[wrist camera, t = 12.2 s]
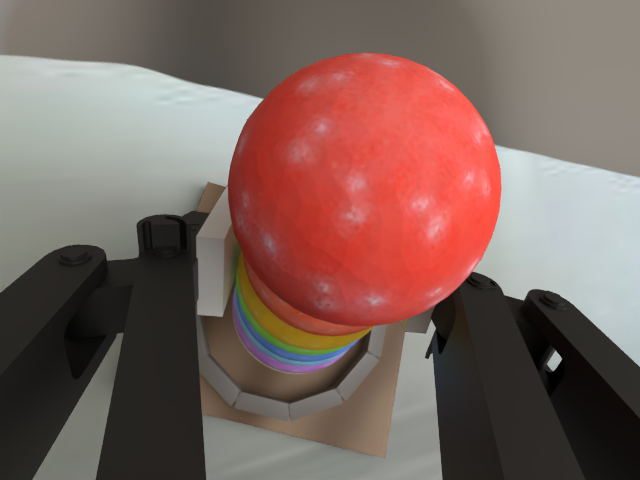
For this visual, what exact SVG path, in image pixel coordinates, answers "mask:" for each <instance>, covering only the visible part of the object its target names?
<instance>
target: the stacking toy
mask: <svg viewBox="0 0 640 480" xmlns="http://www.w3.org/2000/svg"><path fill="white" fill-rule="evenodd" d="M500 198H501V172H500V165H499V161H498V157H497V154H496V150H495V146H494V143H493V140H492V137H491V134H490V133H489V130H488V128H487V126H486V124H485V123H484V121H483V119H482V118H481V116H480V115H479V113H478V112H477V110H476V109H475V108H474V106H473V105H472V104H471V102H470V101H469V100H468V99H467V98H466V97H465V96H464V95H463V94H462V93H461V92H460V91H459V90H458V88H456V87H455V86H454V85H453V84H451V83H450V82H449V81H447V80H446V79H445V78H444V77H442V76H440V75H439V74H437V73H435V72H434V71H432V70H431V69H429V68H427V67H426V66H423V65H421V64H418V63H416V62H413V61H410V60H408V59H405V58H401V57H396V56H391V55H387V54H377V53H356V54H346V55H341V56H336V57H332V58H328V59H324V60H321V61H319V62H317V63H314V64H312V65H309V66H307V67H304V68H302V69H300V70H299V71H297V72H295V73H294V74H292V75H291V76H289V77H287V78H286V79H285V80H283V81H282V82H281V83H280V84H279V85H278V86H277V87H275V88H274V89H273V90H272V91H271V92H270V93H269V94H268V95H267V96H266V97H265V99H264V100H263V101H262V102H261V103H260V104H259V105H258V106H257V108H256V109H255V110H254V112H253V113H252V114H251V115H250V117H249V118H248V119H247V121H246V123H245V125H244V127H243V129H242V131H241V134H240V136H239V139H238V142H237V145H236V148H235V151H234V154H233V158H232V162H231V165H230V171H229V179H228V203H229V210H230V216H231V221H232V226H233V230H234V234H235V237H236V239H237V242H238V244H239V246H240V248H241V250H240V255H239V261H238V268H237V274H236V286H235V289H234V295H233V309H232V313H233V321H234V326H235V330H236V332H237V335H238V337H239V339H240V341H241V343H242V344H243V346H244V347H245V349H246V350H247V351H248V353H249V354H250V355H251V356H252V357H254V358H255V359H256V360H257V361H258V362H260V363H261V364H263V365H264V366H266V367H268V368H270V369H272V370H275V371H278V372H282V373H286V374H305V373H311V372H314V371H317V370H320V369H323V368H325V367H327V366H329V365H331V364H333V363H334V362H336V361H337V360H339V359H340V358H341V357H342V356H343V355H344V354H345V353H346V352H347V351H348V350H349V349H350V347H352V346H353V345H354V344H355V343H356V342H357V341H358V340H359V339H360V338H362V337H363V336H365V335H366V334H367V333H368V332H369V331H371V330H372V329H373V328H374V327H375V326H377V325H385V324H392V323H395V322H398V321H401V320H404V319H407V318H410V317H413V316H415V315H418V314H420V313H422V312H425V311H427V310H428V309H430V308H431V307H433V306H434V305H436V304H437V303H439V302H440V301H442V300H443V299H445V298H446V297H448V296H449V295H450V294H451V293H452V292H453V291H454V290H456V289H457V288H458V287H459V286H460V285H461V284H462V283H463V282H464V280H465V279H466V278H467V277H468V276H469V275H470V274H471V272H472V271H473V270H474V268H475V267H476V266H477V264H478V263H479V262H480V260H481V259H482V257H483V255H484V252H485V250H486V248H487V246H488V244H489V242H490V240H491V238H492V235H493V232H494V228H495V225H496V222H497V218H498V214H499V209H500Z"/></svg>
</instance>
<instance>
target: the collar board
mask: <svg viewBox="0 0 640 480" xmlns="http://www.w3.org/2000/svg"><path fill="white" fill-rule="evenodd" d="M225 189H226V187H223V186H220V185H217V184H213V183H210V182H208V183H207V186H206V188H205V191H204V193H203V196H202V198H201V201H200V203H199V206H198V208H197V210H196V211H197V212H206V213H211V211H212V210H213V208H214V206H215V205H216V203H217V202H218V200H219V198H220V197H221V195H222V193H223V192H224V190H225ZM236 274H237V272H236ZM235 286H236V275H235V278H234V281H233V284H232V288H231V291H230V294H229V297H228V301H227V304H226V307H225V310H224V313H223V317H219V316H206V315H197V303H196V305H195V312H196V328H197V343H198V359H199V375H200V391H201V407H202V413H203V414H207V415H211V416H215V417H219V418H223V419H227V420H231V421H235V422H239V423H243V424H247V425H251V426H255V427H260V428H264V429H268V430H272V431H276V432H280V433H284V434H288V435H292V436H296V437H300V438H304V439H308V440H312V441H316V442H320V443H324V444H329V445H333V446H337V447H341V448H345V449H349V450H353V451H357V452H361V453H365V454H369V455H373V456H377V457H381V458H385V456H386V450H387V443H388V437H389V430H390V424H391V418H392V411H393V405H394V399H395V392H396V386H397V379H398V373H399V367H400V360H401V354H402V347H403V341H404V335H405V332H404V330H403V328H402V325H401V323H400V321H398V322H395V323H392V324H385V325H377V326H375V327H374V328H373V329H372V330H371V331H369V332H368V333H367V334H366V335H365V336H363V337H362V338H360V339H359V340H358V341H357V342H356V343H355V344H354V345H353V346H352V347H350V349H349V350H348V351H347V352H346V353H345V354H344V355H343V356H342V357H341V358H340V359H339V360H337V361H336V362H334V363H333V364H331V365H329V366H327V367H325V368H323V369H320V370H317V371H314V372H311V373H305V374H286V373H282V372H278V371H275V370H272V369H270V368H268V367H266V366H264V365H263V364H261V363H260V362H258V361H257V360H256V359H255V358H254V357H252V356H251V355H250V354H249V353H248V351H247V350H246V349H245V347H244V346H243V344H242V343H241V341H240V339H239V337H238V335H237V332H236V330H235V326H234V321H233V313H232V309H233V295H234V289H235Z"/></svg>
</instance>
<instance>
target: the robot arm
mask: <svg viewBox="0 0 640 480" xmlns="http://www.w3.org/2000/svg"><path fill="white" fill-rule="evenodd" d="M137 234H138V244H139V257H138V258H134V259H126V260H112V261H107V259H106V254H105V252H104V250H103V249H101V248H99V247H97V246H91V245H72V246H71V245H70V246H65V247H63V248H60V249H57V250H54V251H52V252H51V253H49V254H47V255H46V256H44V257H43V258H42V259H41V260H40V261H38V262H37V263H36V264H35V265H34V266H32V267H31V268H30V269H29V270H28V271H26V272H25V273H24V274H23V275H21V276H20V277H19V278H18V279H17V280H15V281H14V282H13V283H12V284H11V285H9V286H8V287H7V288H6V289H5V290H3V291H2V292H1V293H0V480H32V479H33V477H34V476H35V474H36V472H37V470H38V469H39V467H40V465H41V464H42V462H43V460H44V459H45V457H46V455H47V453H48V452H49V450H50V448H51V447H52V445H53V443H54V442H55V440H56V438H57V436H58V435H59V433H60V431H61V430H62V428H63V426H64V425H65V423H66V421H67V420H68V418H69V416H70V414H71V413H72V411H73V409H74V408H75V406H76V404H77V403H78V401H79V399H80V397H81V396H82V394H83V392H84V391H85V389H86V387H87V386H88V384H89V382H90V380H91V379H92V377H93V375H94V374H95V372H96V370H97V369H98V367H99V365H100V363H101V362H102V360H103V358H104V357H105V355H106V353H107V352H108V350H109V348H110V347H111V345H112V343H113V341H114V340H115V338H116V335H117V333H123V332H124V335H123V340H122V345H121V351H120V356H119V361H118V366H117V372H116V377H115V382H114V387H113V392H112V398H111V403H110V408H109V413H108V418H107V424H106V429H105V434H104V439H103V445H102V450H101V455H100V460H99V465H98V471H97V476H96V480H206V471H205V455H204V439H203V423H202V407H201V391H200V375H199V359H198V343H197V328H196V312H195V305H196V303H197V315H206V316H219V317H223V313H224V310H225V307H226V304H227V301H228V297H229V294H230V291H231V288H232V284H233V281H234V278H235V275H236V272H237V268H238V261H239V255H240V250H241V248H240V246H239V244H238V242H237V239H236V237H235V234H234V230H233V226H232V221H231V216H230V210H229V203H228V185H227V187H226V189H225V190H224V192H223V193H222V195H221V197H220V198H219V200H218V202H217V203H216V205H215V206H214V208H213V210H212V211H211V213H206V212H197V211H192V212H190V213H188V214H185V215H183V216H182V217H181V216H177V215H167V214H164V215H154V216H150V217H146V218H144V219H142V220H140V221H139V222H138V223H137ZM431 319H432V321H433V323H434V325H435V327H436V330H435V332H434V335H433V337H432V340H431V342H430V345H429V347H428V350H427V352H426V356H425V358H427V359H429V356H430V354H432V353H433V363H434V375H435V388H436V401H437V414H438V426H439V439H440V452H441V465H442V477H443V480H640V367H639V366H638V365H637V364H636V363H635V362H634V361H633V360H632V359H631V358H630V357H628V356H627V355H626V354H625V353H624V352H623V351H622V350H621V349H620V348H619V347H618V346H617V345H616V344H615V343H613V342H612V341H611V340H610V339H609V338H608V337H607V336H606V335H605V334H604V333H603V332H602V331H601V330H600V329H598V328H597V327H596V326H595V325H594V324H593V323H592V322H591V321H590V320H589V319H588V318H587V317H586V316H585V315H583V314H582V313H581V312H580V311H579V310H578V309H577V308H576V307H575V306H574V305H573V304H571V303H570V302H569V301H567V300H566V299H564V298H562V297H561V296H560V295H558V294H556V293H553V292H550V291H544V290H540V289H533V290H530V291H529V292H528V294H527V296H526V298H525V300H524V301H523V300H519V299H516V298H512V297H508V296H505V295H504V294H503V292H502V289H501V288H500V286H499V285H498V284H497V283H496V282H495V281H493V280H492V279H490V278H488V277H486V276H484V275H482V274H479V273H476V272H471V274H470V275H469V276H468V277H467V278H466V279H465V280H464V282H463V283H462V284H461V285H460V286H459V287H458V288H457V289H456V290H454V291H453V292H452V293H451V294H450V295H449V296H448V297H446V298H445V299H443V300H442V301H440V302H439V303H437V304H436V305H434V306H433V307H431V308H430V309H428V310H427V311H425V312H422V313H420V314H418V315H415V316H413V317H410V318H407V319H404V320H401V321H400V323H401V325H402V328H403V330H404V332H415V333H426V332H427V329H428V326H429V324H430V321H431ZM555 350H556V351H557V353H558V354H559V355H560V356H561V358H562V360H561V362H560V364H559V365H558V367H557V368H556V370H554V371H552V370H551V369H550V368H549V367H548V365H547V363H548V361H549V360H550V358H551V357H552V355H553V353H554V352H555Z"/></svg>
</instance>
